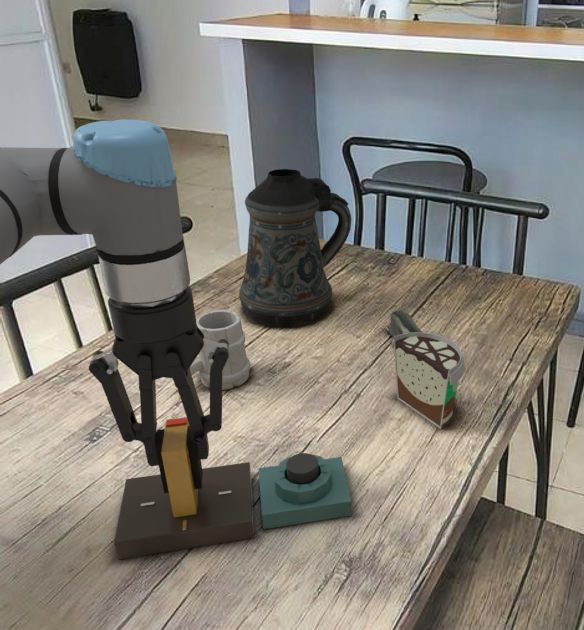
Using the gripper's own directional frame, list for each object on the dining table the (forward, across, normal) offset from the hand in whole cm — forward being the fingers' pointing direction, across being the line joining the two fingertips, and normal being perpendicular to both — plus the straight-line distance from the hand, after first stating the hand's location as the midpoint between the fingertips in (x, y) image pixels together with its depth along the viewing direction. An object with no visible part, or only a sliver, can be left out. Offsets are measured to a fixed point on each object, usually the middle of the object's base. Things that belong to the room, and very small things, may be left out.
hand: (183, 482), depth 75 cm
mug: (+5, -2, -28) cm, 29 cm away
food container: (+5, -33, -15) cm, 37 cm away
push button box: (+5, -13, 0) cm, 14 cm away
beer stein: (+5, -15, -51) cm, 54 cm away
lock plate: (+5, 0, 0) cm, 5 cm away
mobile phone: (+5, -33, -31) cm, 46 cm away
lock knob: (+2, 0, 0) cm, 2 cm away
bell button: (+1, -13, 0) cm, 13 cm away
